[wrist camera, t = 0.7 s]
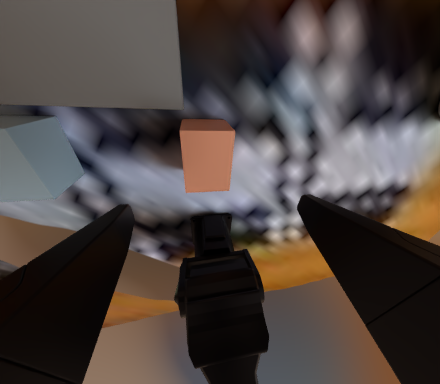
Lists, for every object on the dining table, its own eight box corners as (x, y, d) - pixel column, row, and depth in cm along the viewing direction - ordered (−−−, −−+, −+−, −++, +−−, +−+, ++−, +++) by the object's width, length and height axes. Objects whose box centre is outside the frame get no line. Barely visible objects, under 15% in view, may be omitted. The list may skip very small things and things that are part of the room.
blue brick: (85, 173, 18) (54, 199, 14) (40, 174, 17) (-6, 202, 13) (56, 115, 14) (4, 128, 10) (-2, 114, 14) (-81, 127, 10)
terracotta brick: (221, 169, 20) (229, 190, 16) (186, 170, 20) (185, 192, 16) (224, 119, 17) (235, 131, 13) (182, 118, 16) (179, 130, 12)
